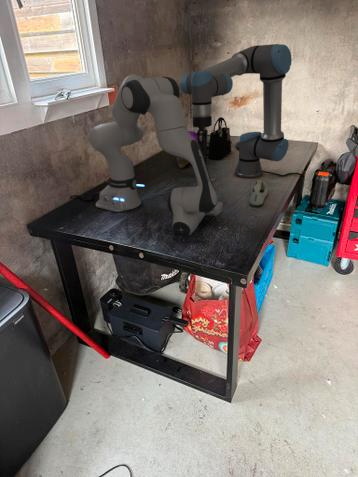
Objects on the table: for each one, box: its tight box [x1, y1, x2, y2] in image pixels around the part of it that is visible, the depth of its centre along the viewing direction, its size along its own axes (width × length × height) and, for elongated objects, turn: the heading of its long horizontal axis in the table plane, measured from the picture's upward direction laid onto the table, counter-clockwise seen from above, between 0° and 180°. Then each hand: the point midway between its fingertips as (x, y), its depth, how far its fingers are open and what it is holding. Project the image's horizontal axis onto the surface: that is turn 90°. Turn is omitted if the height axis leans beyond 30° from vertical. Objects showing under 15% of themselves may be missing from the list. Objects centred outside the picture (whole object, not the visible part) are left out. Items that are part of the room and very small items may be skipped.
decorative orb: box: [188, 130, 198, 142], centre depth 230 cm, size 15×15×15 cm
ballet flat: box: [249, 179, 269, 207], centre depth 158 cm, size 8×24×8 cm, turn 163°
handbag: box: [207, 116, 232, 161], centre depth 217 cm, size 21×9×25 cm, turn 148°
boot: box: [175, 156, 191, 169], centre depth 209 cm, size 9×24×20 cm, turn 168°
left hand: (203, 198), depth 146 cm, fingers closed on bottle, 5 cm apart
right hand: (203, 173), depth 139 cm, fingers closed on cap, 4 cm apart
